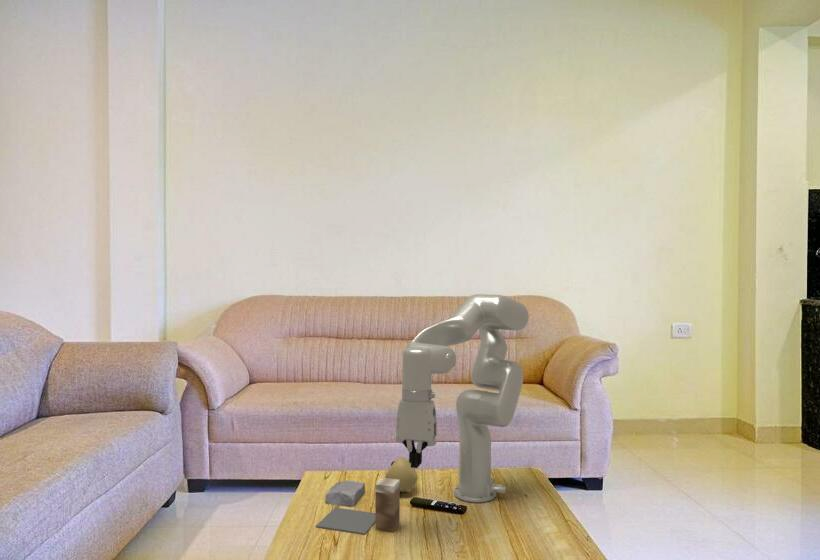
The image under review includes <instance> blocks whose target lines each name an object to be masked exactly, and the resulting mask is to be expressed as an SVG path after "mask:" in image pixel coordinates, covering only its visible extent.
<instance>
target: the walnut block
mask: <svg viewBox="0 0 820 560" xmlns="http://www.w3.org/2000/svg"><path fill="white" fill-rule="evenodd" d="M374 487H375V489H374V491H375V495H374V496H375V497H374V498H375V500H374V501H375V502H374V503H375V509H374V510H375V512H374V513H375V526H374V527H375V529H374V530H375V531H379V532H380V531H381V532H388V533H394V532H396V530H397V528H398V527H399V525H400V520H401V519H400V513H401V512H400V511H401V509H400V505H401V503H400V500H401V499H400V494H401V492H400V480H398V479H390V478H385V477H381V478H380V479H379V480H378V481H377V482H376V483H375V485H374Z"/></svg>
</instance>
